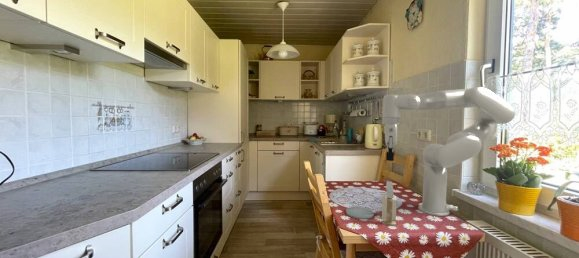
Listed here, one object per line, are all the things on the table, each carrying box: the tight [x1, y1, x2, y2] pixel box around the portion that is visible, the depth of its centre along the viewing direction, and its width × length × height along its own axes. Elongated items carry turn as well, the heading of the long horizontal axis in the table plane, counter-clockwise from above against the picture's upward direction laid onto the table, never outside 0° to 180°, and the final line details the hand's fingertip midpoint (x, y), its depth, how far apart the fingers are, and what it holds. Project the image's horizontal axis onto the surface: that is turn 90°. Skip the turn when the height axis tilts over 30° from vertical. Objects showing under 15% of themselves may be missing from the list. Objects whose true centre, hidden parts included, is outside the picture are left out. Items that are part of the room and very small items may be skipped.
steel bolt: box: [385, 180, 394, 198], centre depth 113 cm, size 2×16×3 cm, turn 160°
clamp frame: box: [381, 193, 397, 227], centre depth 113 cm, size 5×17×10 cm, turn 161°
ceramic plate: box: [345, 206, 375, 220], centre depth 118 cm, size 12×12×1 cm
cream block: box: [381, 194, 398, 222], centre depth 114 cm, size 6×6×9 cm
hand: (389, 159), depth 125 cm, fingers closed
